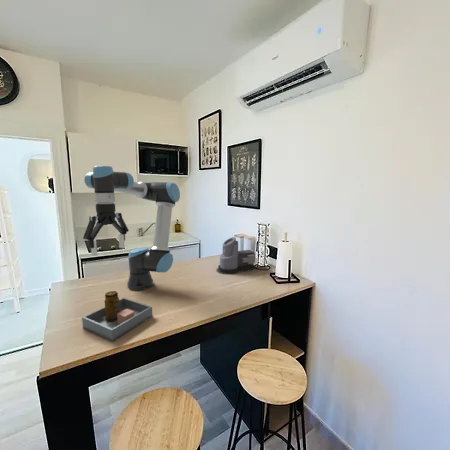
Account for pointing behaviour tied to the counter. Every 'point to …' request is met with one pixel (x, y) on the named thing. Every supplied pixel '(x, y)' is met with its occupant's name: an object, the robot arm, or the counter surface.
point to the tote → (116, 330)
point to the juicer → (235, 258)
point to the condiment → (111, 307)
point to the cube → (124, 315)
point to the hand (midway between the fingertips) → (109, 251)
